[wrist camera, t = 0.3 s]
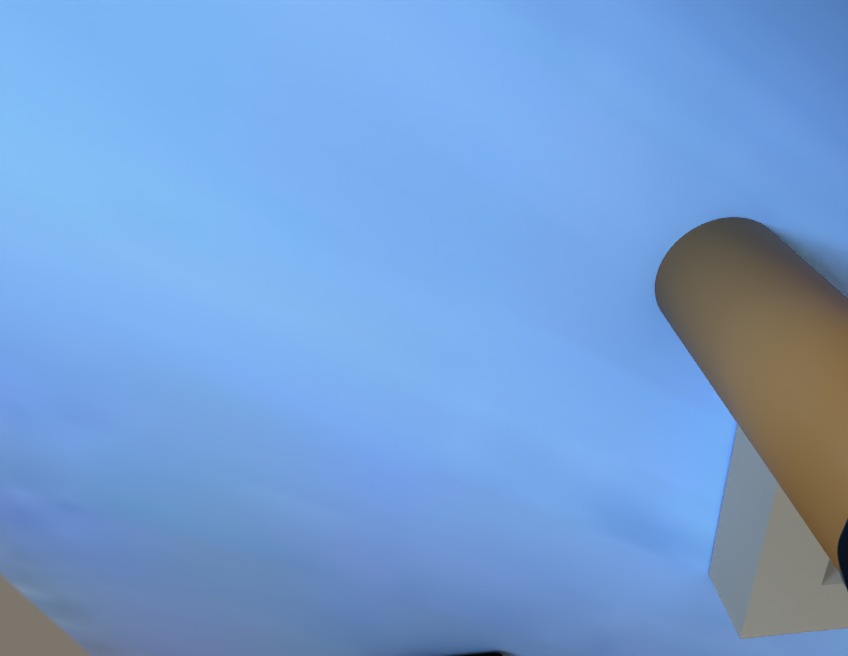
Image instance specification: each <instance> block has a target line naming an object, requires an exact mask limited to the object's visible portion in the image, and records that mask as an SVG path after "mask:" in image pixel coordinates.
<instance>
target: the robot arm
mask: <svg viewBox="0 0 848 656" xmlns="http://www.w3.org/2000/svg"><path fill="white" fill-rule="evenodd" d="M837 556H838V562H839V566H840V569H841V572H842V576H843V579H844V582H845V585H846V588H847V591H848V518H847V521H846V523H845V525H844V528H843V530H842V532H841V535H840V537H839V540H838V546H837ZM467 656H503V655H502V654H499V653H486V654H476V655H467Z"/></svg>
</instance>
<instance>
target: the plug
mask: <svg viewBox="0 0 848 656" xmlns="http://www.w3.org/2000/svg"><path fill="white" fill-rule="evenodd" d="M655 297H656V301H657V304H658V306H659V309H660V311H661V312H662V314H663V315H664V317H665V318H666V319H667V321H668V322H669V324H670V325H671V327H672V328H673V330H674V331H675V333H676V334H677V336H678V337H679V339H680V340H681V341H682V343H683V344H684V346H685V347H686V349H687V350H688V352H689V353H690V355H691V356H692V358H693V359H694V361H695V362H696V363H697V365H698V366H699V368H700V369H701V371H702V372H703V374H704V375H705V377H706V378H707V380H708V381H709V383H710V384H711V385H712V387H713V388H714V390H715V391H716V393H717V394H718V396H719V397H720V399H721V400H722V402H723V403H724V405H725V406H726V407H727V409H728V410H729V412H730V413H731V415H732V416H733V418H734V419H735V421H736V422H737V424H738V425H739V427H740V428H741V429H742V431H743V432H744V434H745V435H746V437H747V438H748V440H749V441H750V443H751V444H752V446H753V447H754V448H755V450H756V451H757V453H758V454H759V456H760V457H761V459H762V460H763V462H764V463H765V465H766V466H767V468H768V469H769V470H770V472H771V473H772V475H773V476H774V478H775V479H776V481H777V482H778V484H779V485H780V487H781V488H782V490H783V491H784V492H785V494H786V495H787V497H788V498H789V500H790V501H791V503H792V504H793V506H794V507H795V509H796V510H797V512H798V513H799V514H800V516H801V517H802V519H803V520H804V522H805V523H806V525H807V526H808V528H809V529H810V531H811V532H812V534H813V535H814V536H815V538H816V539H817V541H818V542H819V544H820V545H821V547H822V548H823V550H824V551H825V553H826V554H827V556H828V557H829V558H830V560H831V561H832V563H833V564H834V566H835V567H836V569H837V570H838V572H839V573H840V575H841V578H842V581H843V583H844V585H845V582H844V579H843V576H842V572H841V569H840V566H839V562H838V556H837V546H838V540H839V537H840V535H841V532H842V530H843V528H844V525H845V523H846V521H847V518H848V299H847V298H846V297H845V296H844V295H843V294H842V293H841V292H839V291H838V290H837V289H836V288H835V287H834V286H833V285H832V284H830V283H829V282H828V281H827V280H826V279H825V278H824V277H822V276H821V275H820V274H819V273H818V272H817V271H816V270H815V269H813V268H812V267H811V266H810V265H809V264H808V263H807V262H805V261H804V260H803V259H802V258H801V257H800V256H799V255H798V254H796V253H795V252H794V251H793V250H792V249H791V248H790V247H788V246H787V245H786V244H785V243H784V242H783V241H782V240H781V239H779V238H778V237H777V236H776V235H775V234H774V233H773V232H771V231H770V230H769V229H768V228H767V227H766V226H764V225H762V224H761V223H759V222H756V221H754V220H750V219H746V218H738V217H730V218H722V219H717V220H713V221H710V222H707V223H705V224H702V225H700V226H698V227H696V228H694V229H693V230H691V231H690V232H688V233H687V234H685V235H684V236H683V237H682V238H680V239H679V240H678V241H677V242H676V243H675V244H674V245H673V246H672V247H671V249H670V250H669V251H668V253H667V254H666V256H665V257H664V259H663V260H662V262H661V265H660V267H659V269H658V272H657V275H656V281H655ZM845 587H846V585H845Z"/></svg>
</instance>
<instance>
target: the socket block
mask: <svg viewBox="0 0 848 656" xmlns="http://www.w3.org/2000/svg"><path fill="white" fill-rule="evenodd" d="M708 575H709V577H710V579H711V581H712V583H713V585H714V587H715V589H716V591H717V593H718V595H719V597H720V599H721V601H722V603H723V605H724V607H725V609H726V611H727V613H728V615H729V617H730V619H731V621H732V623H733V625H734V627H735V629H736V631H737V633H738V635H739V637H740V639H744V638H753V637H763V636H773V635H783V634H792V633H802V632H812V631H822V630H831V629H841V628H848V591H847V588H846V587H845V585H844V583H843V581H842V578H841V575H840V573H839V572H838V570H837V569H836V567H835V566H834V564H833V563H832V561H831V560H830V558H829V557H828V556H827V554H826V553H825V551H824V550H823V548H822V547H821V545H820V544H819V542H818V541H817V539H816V538H815V536H814V535H813V534H812V532H811V531H810V529H809V528H808V526H807V525H806V523H805V522H804V520H803V519H802V517H801V516H800V514H799V513H798V512H797V510H796V509H795V507H794V506H793V504H792V503H791V501H790V500H789V498H788V497H787V495H786V494H785V492H784V491H783V490H782V488H781V487H780V485H779V484H778V482H777V481H776V479H775V478H774V476H773V475H772V473H771V472H770V470H769V469H768V468H767V466H766V465H765V463H764V462H763V460H762V459H761V457H760V456H759V454H758V453H757V451H756V450H755V448H754V447H753V446H752V444H751V443H750V441H749V440H748V438H747V437H746V435H745V434H744V432H743V431H742V429H741V428H740V427H739V425H738V424H737V430H736V435H735V440H734V445H733V450H732V455H731V460H730V466H729V471H728V476H727V481H726V486H725V491H724V497H723V502H722V507H721V512H720V517H719V522H718V527H717V533H716V538H715V543H714V548H713V553H712V558H711V564H710V569H709V574H708Z"/></svg>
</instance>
